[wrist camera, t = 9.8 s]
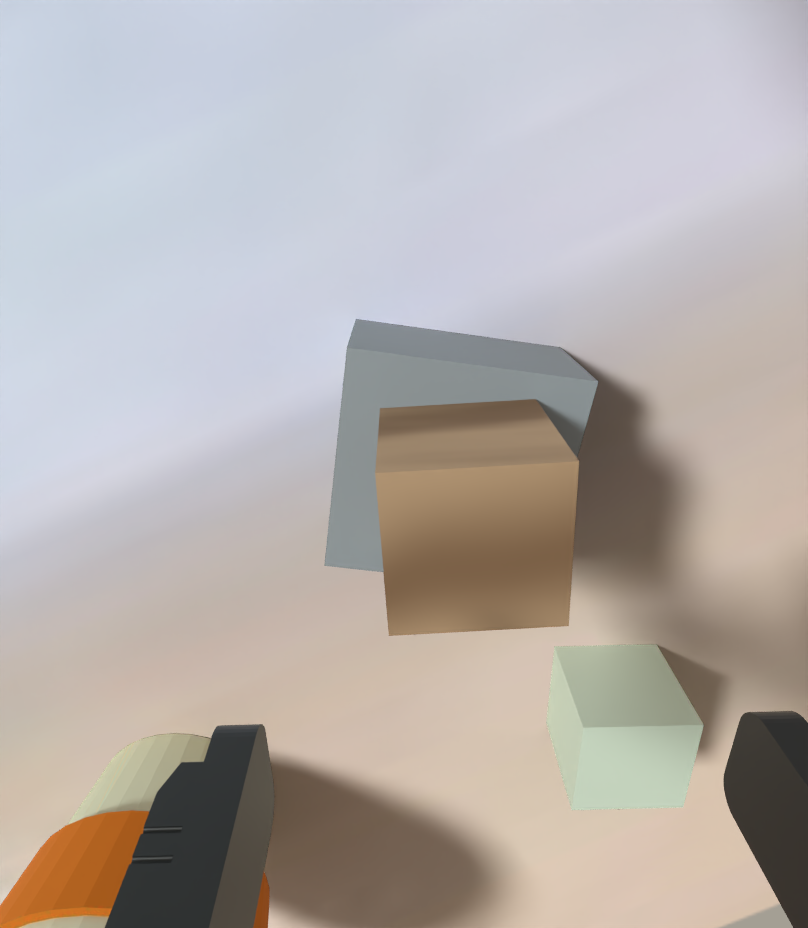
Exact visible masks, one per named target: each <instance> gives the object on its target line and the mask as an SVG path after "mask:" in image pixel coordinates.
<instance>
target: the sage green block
mask: <svg viewBox="0 0 808 928" xmlns="http://www.w3.org/2000/svg"><path fill="white" fill-rule="evenodd" d="M546 723H547V727H548V730H549V734H550V737H551V740H552V744H553V747H554V751H555V754H556V758H557V761H558V765H559V768H560V771H561V775H562V778H563V782H564V785H565V789H566V792H567V796H568V799H569V802H570V806H571V809H572V810H596V809H637V808H677V807H683V806H684V802H685V798H686V794H687V790H688V786H689V782H690V778H691V774H692V770H693V766H694V762H695V758H696V754H697V750H698V746H699V742H700V738H701V734H702V730H703V726H704V724H703V723H702V721H701V719H700V718H699V716H698V714H697V712H696V711H695V709H694V707H693V706H692V704H691V702H690V700H689V699H688V697H687V695H686V694H685V692H684V690H683V689H682V687H681V685H680V683H679V682H678V680H677V678H676V677H675V675H674V673H673V672H672V670H671V668H670V666H669V665H668V663H667V661H666V660H665V658H664V656H663V655H662V653H661V651H660V649H659V648H658V646H657V644H649V645H603V646H556V647H554V655H553V665H552V674H551V683H550V693H549V702H548V711H547V721H546Z"/></svg>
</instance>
